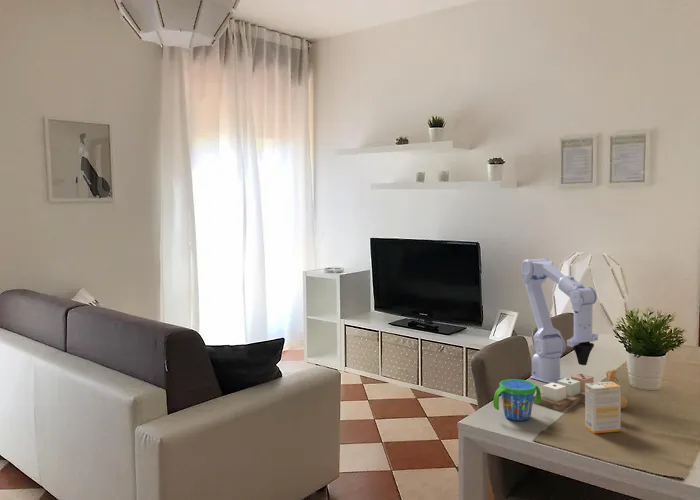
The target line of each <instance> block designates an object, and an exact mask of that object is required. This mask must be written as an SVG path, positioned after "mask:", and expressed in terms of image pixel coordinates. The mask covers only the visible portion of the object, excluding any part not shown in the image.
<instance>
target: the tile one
mask: <svg viewBox="0 0 700 500" xmlns="http://www.w3.org/2000/svg"><path fill="white" fill-rule="evenodd" d="M542 393H543V398H546V399H549V400H553V401H556V402H557V401H560V400H563V399H566V386H564V385H560V384H557V383H553V382H552V383H546V384H544V385H542Z"/></svg>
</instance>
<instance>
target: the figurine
mask: <svg viewBox="0 0 700 500" xmlns="http://www.w3.org/2000/svg"><path fill="white" fill-rule="evenodd" d="M616 373H617V372H616V370H615V369H612V370H607V371H606V377H607V378H608V382H614V383H615V384H617V385H619V384H618V383H619V379H618V378H617V377H616ZM627 405H628V400H627V398H626V397H624V396H623V395H621V410H623V409H625V408H626V407H627Z"/></svg>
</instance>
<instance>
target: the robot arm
mask: <svg viewBox="0 0 700 500" xmlns="http://www.w3.org/2000/svg"><path fill="white" fill-rule="evenodd" d="M519 270H520V273H521V277H522V281H523V283H524V284H525V285H524V286H525V289H526V293H527V296H528V300H529V304H530V307H531V310H532V311H531V312H532V315H533V317H534V321H535V324H536V328H537V330H536V332H535V334H534V335H533V336H532V338H533V339H532V340H533V348H534V352H535V353H534V354H533V355H532V359H531V375H530V376H529V378H530V379H533V380H537V381H540V382H544V383H546V384H549V383H552V382H553V383H557V381H559V380H562V379H565V378H566V377H562V376H561V356H563V354H564V352H565V350H566V348H567V347H570V348H572V349H573V351H574V353H575V355H576V358H577V363H578V365H581V366H586V365H587V364H588V362H589V358H590V354H591V352H592V350H593V348H594V346H595V343H593V342H596V341H598V340H599V334H597V333H593V305H595V304H596V302H597V299H598V295H597V293H596V290H595V289H594V288H593V287H591V286H584V284H583V283H581V282H579V281H577V280H576V279H575V277H574V276H573V275H566V276H565V274H564V273H562V272H561V271H560V270H559V269H558V268H557V267H555V266H554V262H553V261H552V260H550V259H549V258H548V257H544V258H533V259H532V258H531V259H528V258H527V259H524V260H523V261H522V262H521V266H520V268H519ZM548 278H549V279H550V280H551V281H553V282H554V283H556V284H557V285H558V289H559V290H560V291H561V292H563V293H564V294H565V295H566V296H567V297H568V298H569V301H570V303H571V309H572V310H573V336H571V338H569V339H567V340H566V342H565V339H564V338H563V336H562V333H561V331H560V330H558V329H557V328H555V327H554V326H553V322H552V318H551V316H550V312H549V308H548V306H547V305H548V304H547V301H546V299H545V298H546V297H545V294H544V291H543V288H542V284H543V283H544V282H545V283H546V280H547V279H548Z"/></svg>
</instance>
